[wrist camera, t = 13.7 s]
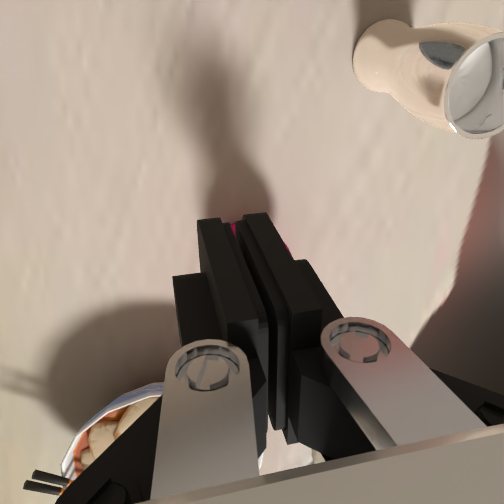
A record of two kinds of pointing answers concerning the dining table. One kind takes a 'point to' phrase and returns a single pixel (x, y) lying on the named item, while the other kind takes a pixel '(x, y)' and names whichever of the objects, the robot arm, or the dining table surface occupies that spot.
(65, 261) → the dining table surface
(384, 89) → the beer glass
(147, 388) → the ramen bowl
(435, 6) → the dining table surface
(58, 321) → the dining table surface
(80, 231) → the dining table surface
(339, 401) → the robot arm
